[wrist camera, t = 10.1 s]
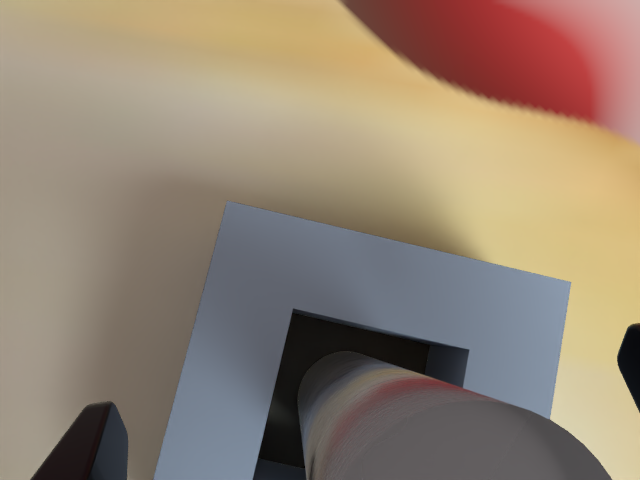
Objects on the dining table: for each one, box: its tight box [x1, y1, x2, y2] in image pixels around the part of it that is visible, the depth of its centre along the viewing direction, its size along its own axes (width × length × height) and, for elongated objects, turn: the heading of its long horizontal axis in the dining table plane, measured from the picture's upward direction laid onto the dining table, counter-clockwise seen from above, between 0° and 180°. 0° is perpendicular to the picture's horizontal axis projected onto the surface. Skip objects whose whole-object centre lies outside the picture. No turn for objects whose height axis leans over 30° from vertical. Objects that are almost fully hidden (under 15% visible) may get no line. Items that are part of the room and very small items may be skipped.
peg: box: [298, 351, 612, 480], centre depth 11 cm, size 3×3×12 cm
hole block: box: [153, 201, 571, 480], centre depth 16 cm, size 9×9×4 cm
